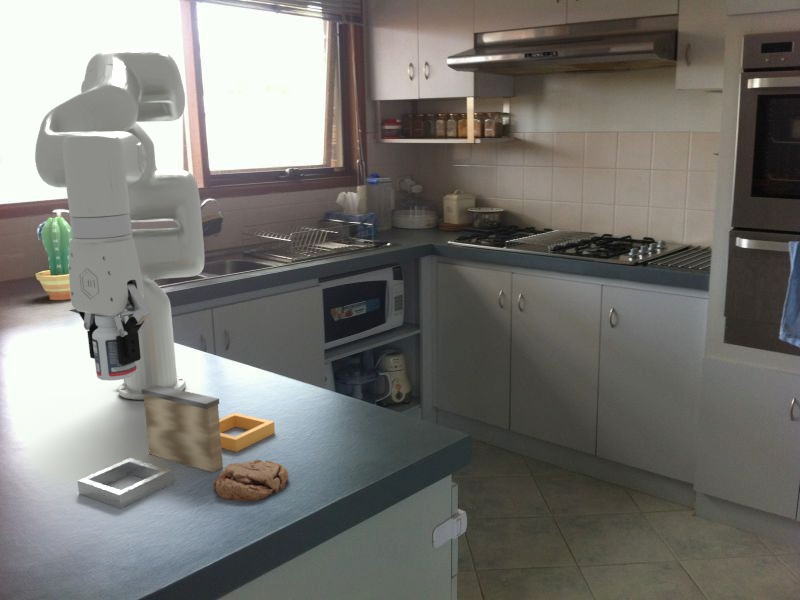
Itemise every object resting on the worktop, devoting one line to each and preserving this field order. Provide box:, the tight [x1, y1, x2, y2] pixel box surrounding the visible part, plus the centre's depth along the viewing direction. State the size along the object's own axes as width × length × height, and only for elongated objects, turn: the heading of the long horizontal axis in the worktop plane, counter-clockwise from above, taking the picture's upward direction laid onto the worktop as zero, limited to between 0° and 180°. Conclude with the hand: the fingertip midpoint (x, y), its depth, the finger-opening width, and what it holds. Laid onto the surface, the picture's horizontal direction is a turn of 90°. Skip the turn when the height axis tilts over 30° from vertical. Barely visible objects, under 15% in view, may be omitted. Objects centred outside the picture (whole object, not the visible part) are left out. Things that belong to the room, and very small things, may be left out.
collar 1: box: [77, 457, 174, 509], centre depth 113 cm, size 9×9×2 cm
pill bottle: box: [92, 314, 137, 381], centre depth 109 cm, size 5×5×9 cm
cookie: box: [212, 459, 289, 502], centre depth 113 cm, size 10×11×3 cm
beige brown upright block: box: [141, 385, 224, 473], centre depth 121 cm, size 14×3×11 cm, turn 57°
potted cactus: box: [35, 216, 72, 301], centre depth 248 cm, size 15×15×25 cm
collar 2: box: [219, 412, 276, 452], centre depth 131 cm, size 9×9×2 cm
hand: (115, 357), depth 110 cm, fingers closed on pill bottle, 5 cm apart
